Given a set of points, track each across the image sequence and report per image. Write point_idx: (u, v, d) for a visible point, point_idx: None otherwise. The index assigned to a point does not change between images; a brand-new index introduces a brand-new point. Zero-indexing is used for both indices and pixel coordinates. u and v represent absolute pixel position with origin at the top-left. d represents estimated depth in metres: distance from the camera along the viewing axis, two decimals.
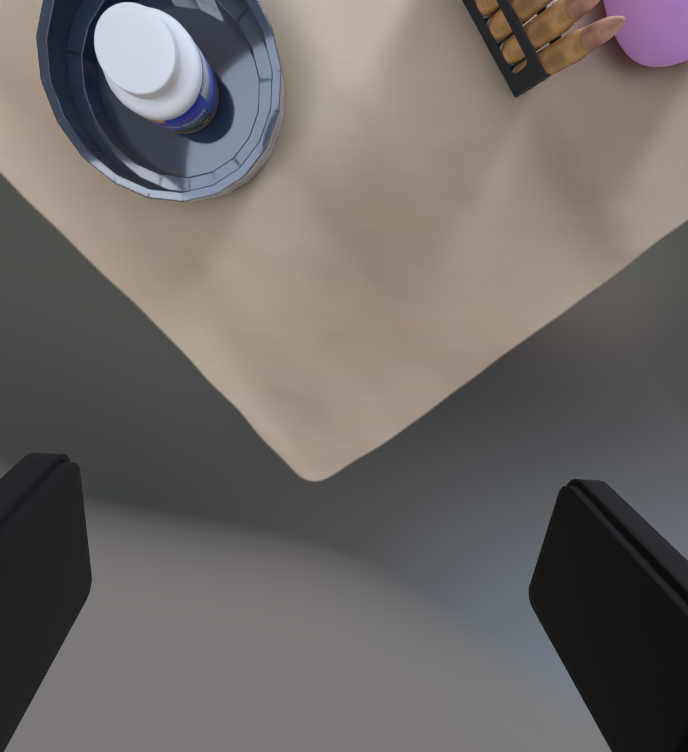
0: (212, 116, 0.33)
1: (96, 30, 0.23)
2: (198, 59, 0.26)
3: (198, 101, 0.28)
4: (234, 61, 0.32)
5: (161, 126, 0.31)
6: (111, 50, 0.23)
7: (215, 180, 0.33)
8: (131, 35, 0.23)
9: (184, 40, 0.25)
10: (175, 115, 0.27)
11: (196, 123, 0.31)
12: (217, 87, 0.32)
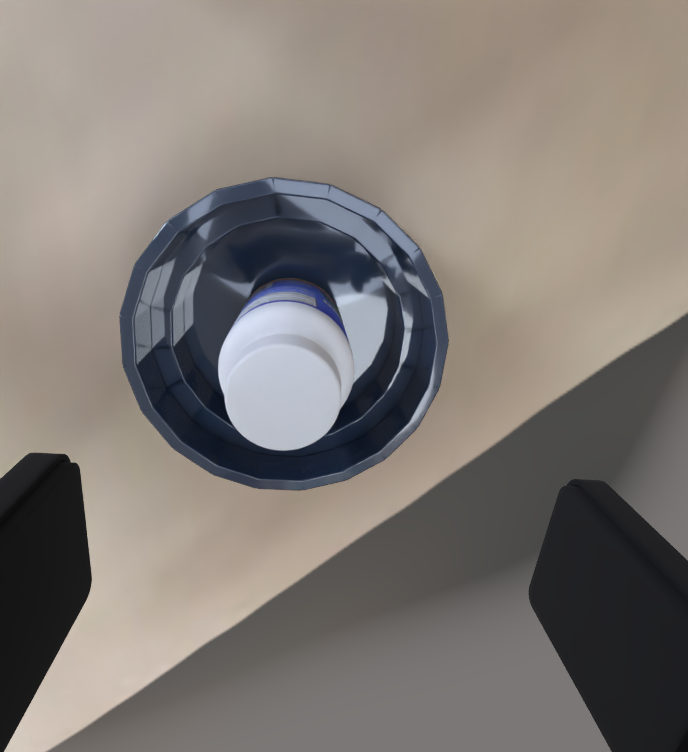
0: (321, 289, 0.24)
1: (264, 445, 0.16)
2: (276, 306, 0.17)
3: (324, 310, 0.19)
4: (251, 253, 0.23)
5: None
6: (287, 430, 0.16)
7: (410, 293, 0.22)
8: (266, 402, 0.16)
9: (256, 324, 0.17)
10: (349, 346, 0.18)
11: (338, 313, 0.22)
12: (287, 279, 0.23)
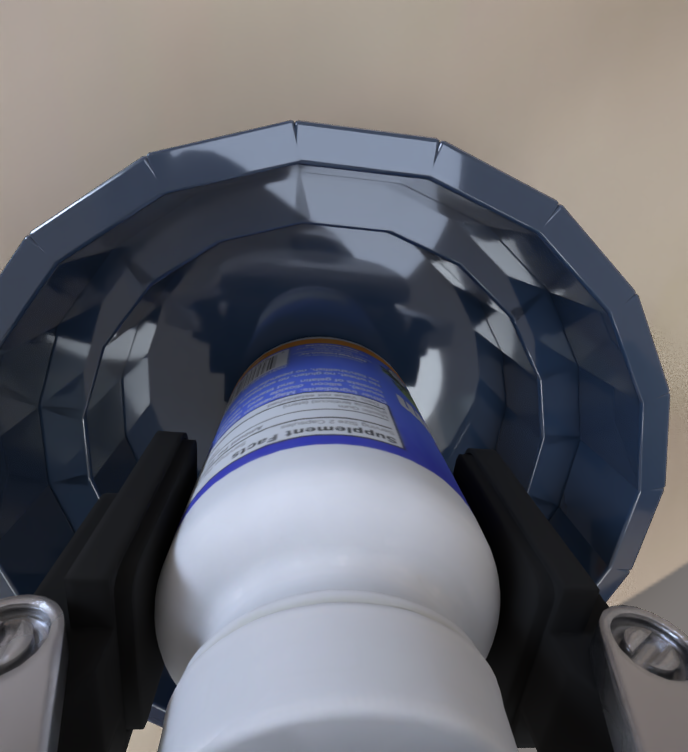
0: (379, 358, 0.12)
1: None
2: (307, 471, 0.06)
3: (419, 448, 0.08)
4: (246, 291, 0.12)
5: None
6: None
7: (562, 371, 0.11)
8: None
9: (252, 531, 0.06)
10: (490, 550, 0.07)
11: (420, 414, 0.11)
12: (316, 343, 0.12)
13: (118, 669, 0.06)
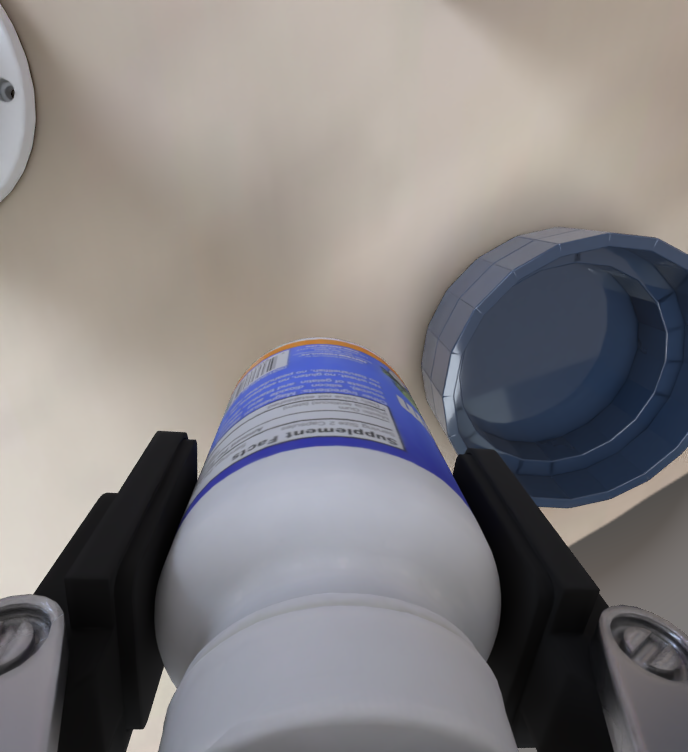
0: (380, 359, 0.12)
1: None
2: (308, 473, 0.06)
3: (419, 450, 0.08)
4: (521, 291, 0.26)
5: None
6: None
7: (677, 328, 0.24)
8: None
9: (252, 533, 0.06)
10: (491, 552, 0.07)
11: None
12: (316, 344, 0.12)
13: (118, 669, 0.06)
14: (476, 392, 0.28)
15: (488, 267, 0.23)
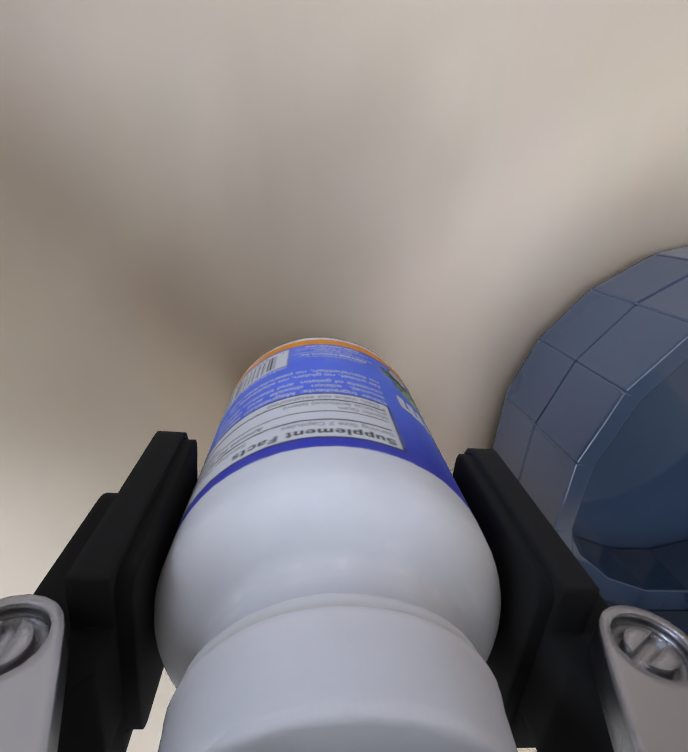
0: (380, 359, 0.12)
1: None
2: (307, 473, 0.06)
3: (419, 450, 0.08)
4: None
5: None
6: None
7: None
8: None
9: (252, 533, 0.06)
10: (490, 552, 0.07)
11: (420, 415, 0.11)
12: (316, 344, 0.12)
13: (118, 669, 0.06)
14: None
15: (627, 309, 0.13)
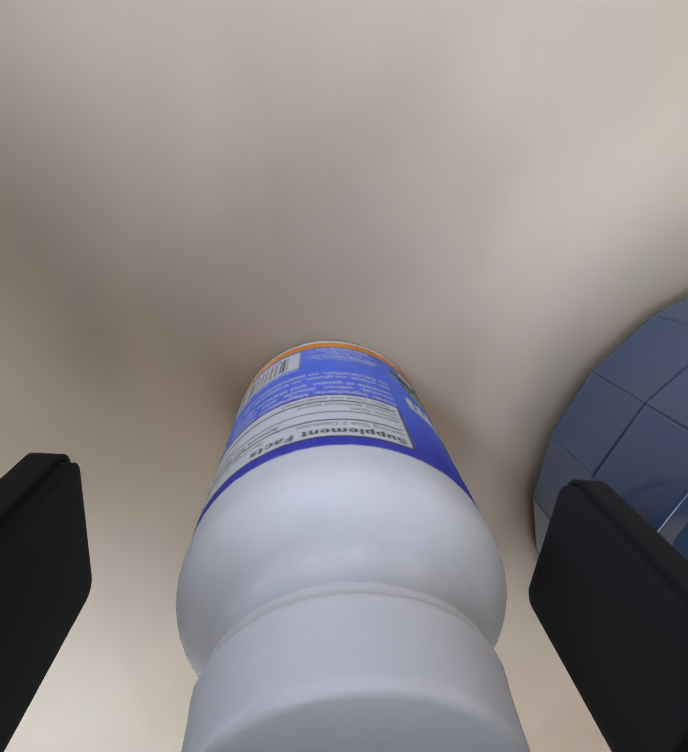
0: (388, 362, 0.13)
1: None
2: (323, 470, 0.07)
3: (428, 449, 0.08)
4: None
5: None
6: None
7: None
8: None
9: (272, 526, 0.06)
10: (496, 547, 0.08)
11: (428, 417, 0.11)
12: (326, 347, 0.12)
13: None
14: None
15: None
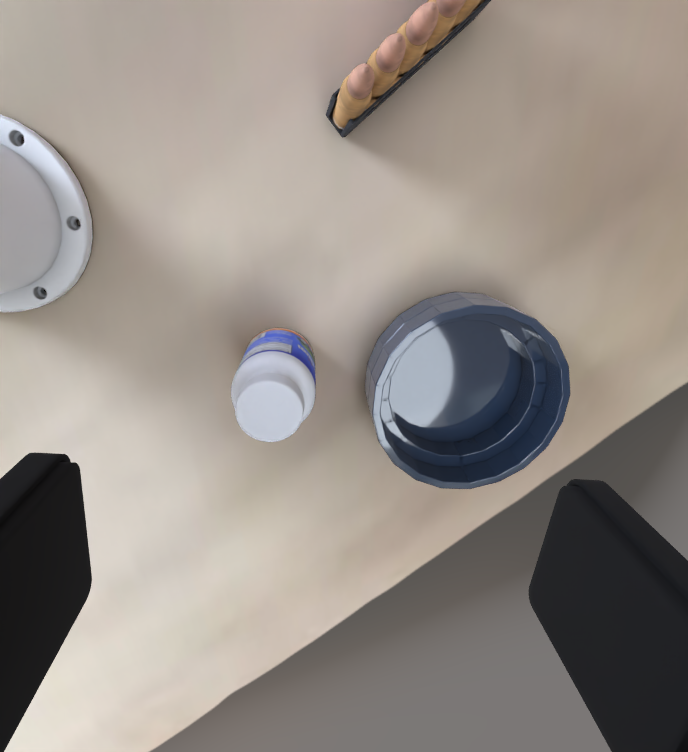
0: (299, 335, 0.35)
1: (259, 439, 0.28)
2: (265, 355, 0.29)
3: (296, 354, 0.30)
4: (432, 336, 0.36)
5: None
6: (272, 430, 0.27)
7: (540, 360, 0.35)
8: (259, 414, 0.27)
9: (253, 366, 0.28)
10: (311, 377, 0.30)
11: (309, 352, 0.33)
12: (275, 329, 0.34)
13: None
14: (406, 407, 0.38)
15: (402, 324, 0.33)
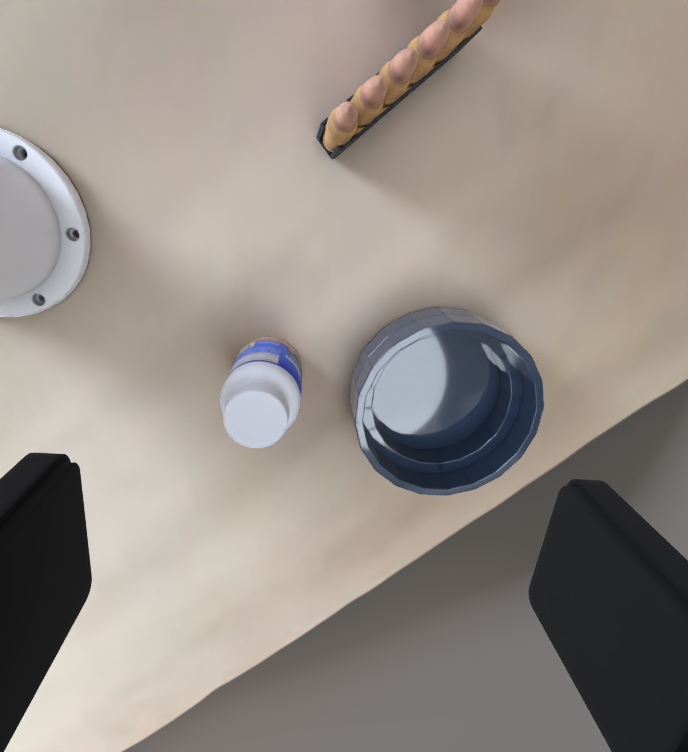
0: (287, 344, 0.36)
1: (245, 445, 0.29)
2: (253, 365, 0.30)
3: (283, 365, 0.32)
4: (415, 348, 0.38)
5: None
6: (258, 436, 0.29)
7: (516, 374, 0.37)
8: (246, 421, 0.29)
9: (241, 376, 0.30)
10: (297, 386, 0.31)
11: (296, 361, 0.35)
12: (264, 339, 0.36)
13: None
14: (389, 415, 0.40)
15: (385, 337, 0.35)
